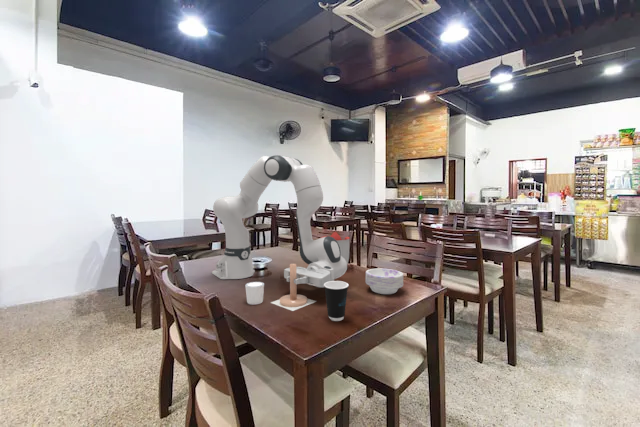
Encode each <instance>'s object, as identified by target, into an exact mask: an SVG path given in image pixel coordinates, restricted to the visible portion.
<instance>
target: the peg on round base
mask: <svg viewBox="0 0 640 427" xmlns="http://www.w3.org/2000/svg"><path fill="white" fill-rule="evenodd" d="M296 267H297V263H290V264H289V268H290V282H289V294H286V295H282V296H281V297H280V298H279V299H280V304H281V305H282V306H286V307H299V306H303V305H305V304H306V303H307V299H308V298H307V296H306V295H303V294H297V293H298V292H297V289H298V287H297V285H298V284H294V279H296V278H297V275H296Z"/></svg>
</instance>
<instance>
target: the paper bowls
mask: <svg viewBox="0 0 640 427" xmlns="http://www.w3.org/2000/svg"><path fill="white" fill-rule="evenodd" d="M365 284H366V285H367V286H369V287H370V290H371V291H372V292H374V293H376V294H379V295H380V294H381V295H393V294H395V293H397V292H398V290H399V289H401V288H402V287H403V286H404V273H403V272H402V271H400V270H396V269H391V268H380V267H378V268H377V267H376V268H369V269H367V270H366V271H365Z"/></svg>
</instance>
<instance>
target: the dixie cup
mask: <svg viewBox="0 0 640 427" xmlns="http://www.w3.org/2000/svg"><path fill="white" fill-rule="evenodd" d="M324 286H325V287H324V292H325V301H326V311H327V316H328V318H329V319H330V321H332V322H340V321H342V320H344V318H345V314H346V307H347V306H346V304H347V296H348V288H349V286H350V285H349V283H348V282H346V281H342V280H334V281H329V282H326V283H324Z"/></svg>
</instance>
